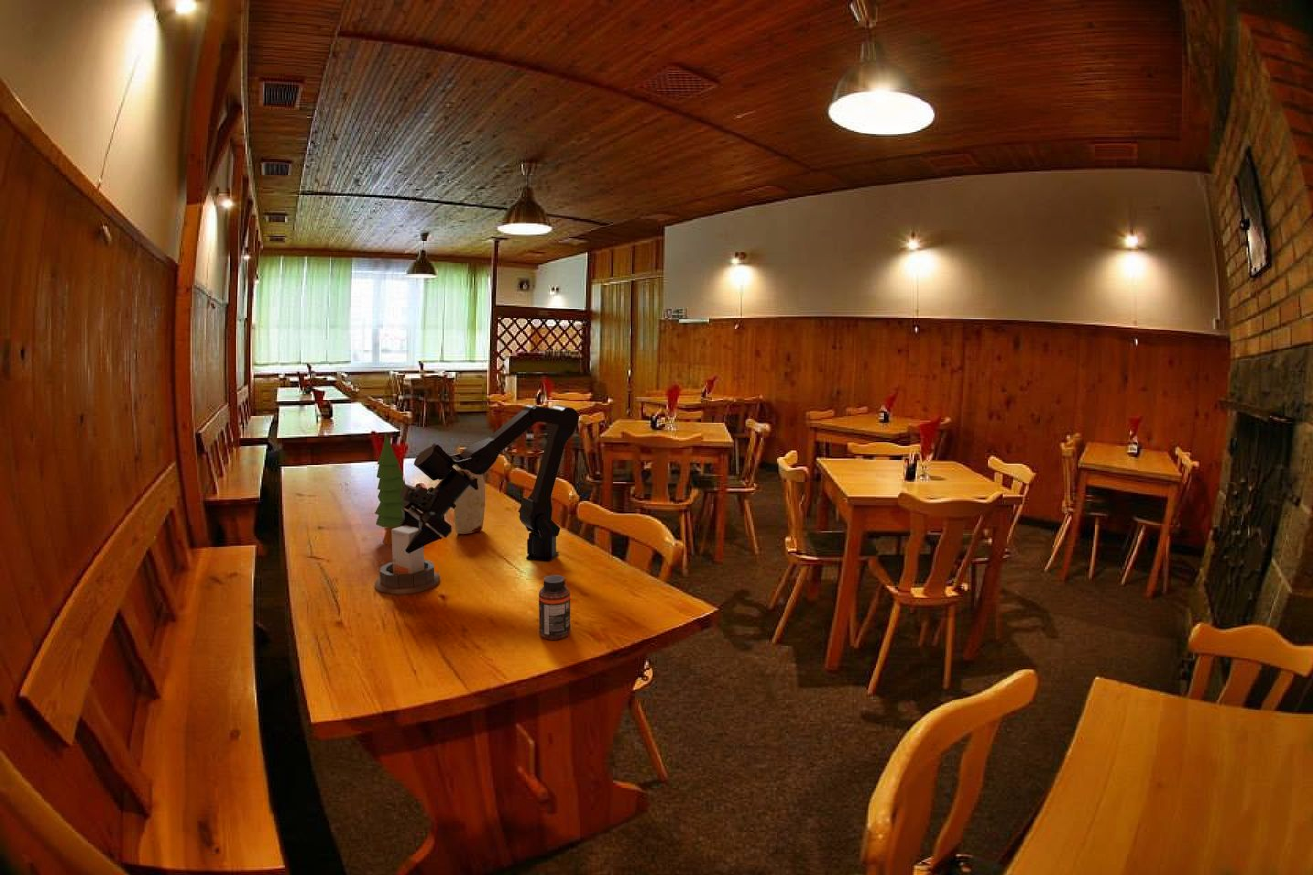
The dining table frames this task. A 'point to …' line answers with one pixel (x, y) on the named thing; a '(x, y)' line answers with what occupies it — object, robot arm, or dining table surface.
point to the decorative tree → (389, 491)
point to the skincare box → (401, 558)
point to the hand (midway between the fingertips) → (400, 546)
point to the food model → (470, 507)
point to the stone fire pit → (406, 580)
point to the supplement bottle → (554, 608)
